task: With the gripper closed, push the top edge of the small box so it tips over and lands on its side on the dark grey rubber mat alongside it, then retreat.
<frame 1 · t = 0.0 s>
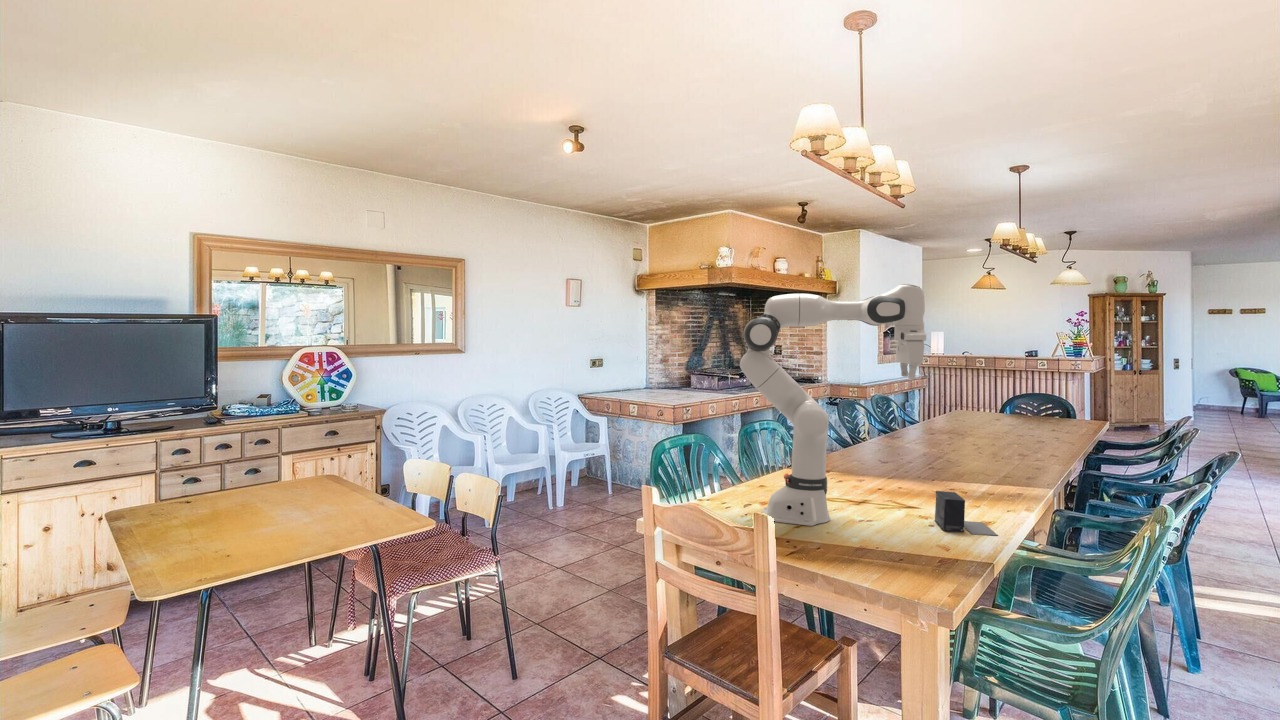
hand: (908, 377, 197), 48 cm above the table, fingers open, 8 cm apart
mat: (977, 528, 194), on the table
small box: (949, 527, 196), on the table
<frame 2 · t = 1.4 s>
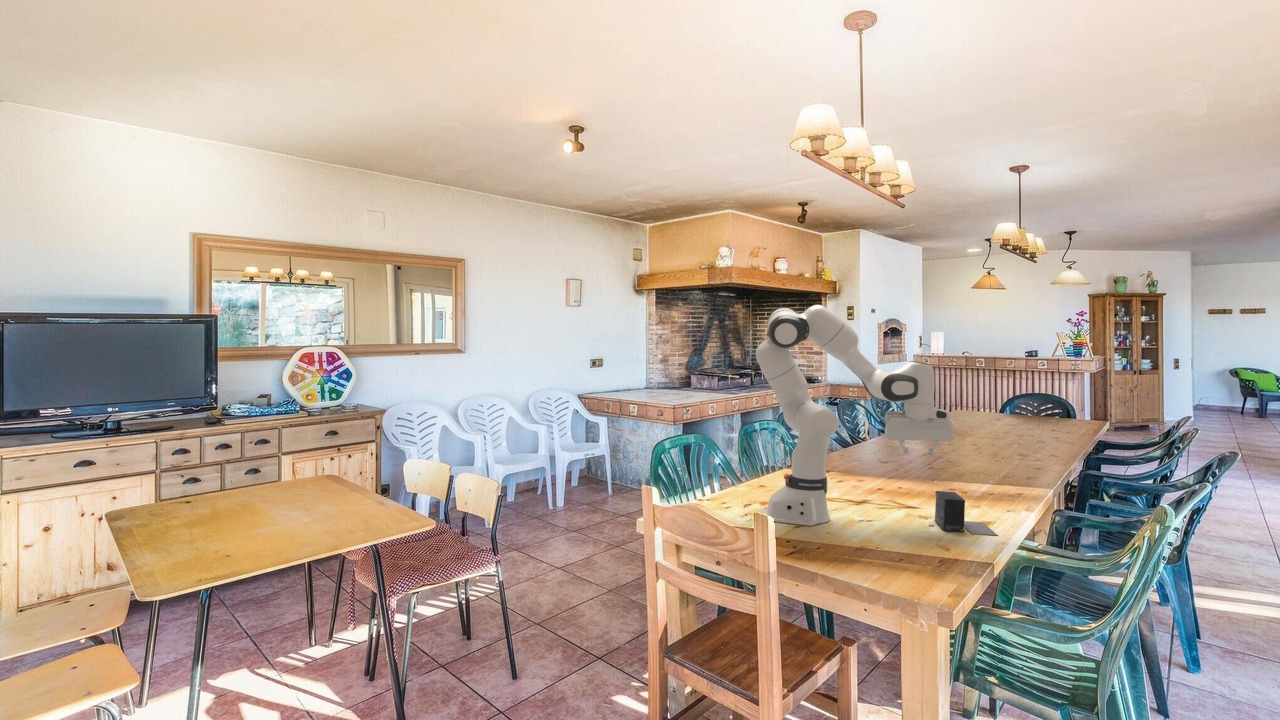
hand: (917, 454, 197), 23 cm above the table, fingers open, 6 cm apart
nothing on the table moved.
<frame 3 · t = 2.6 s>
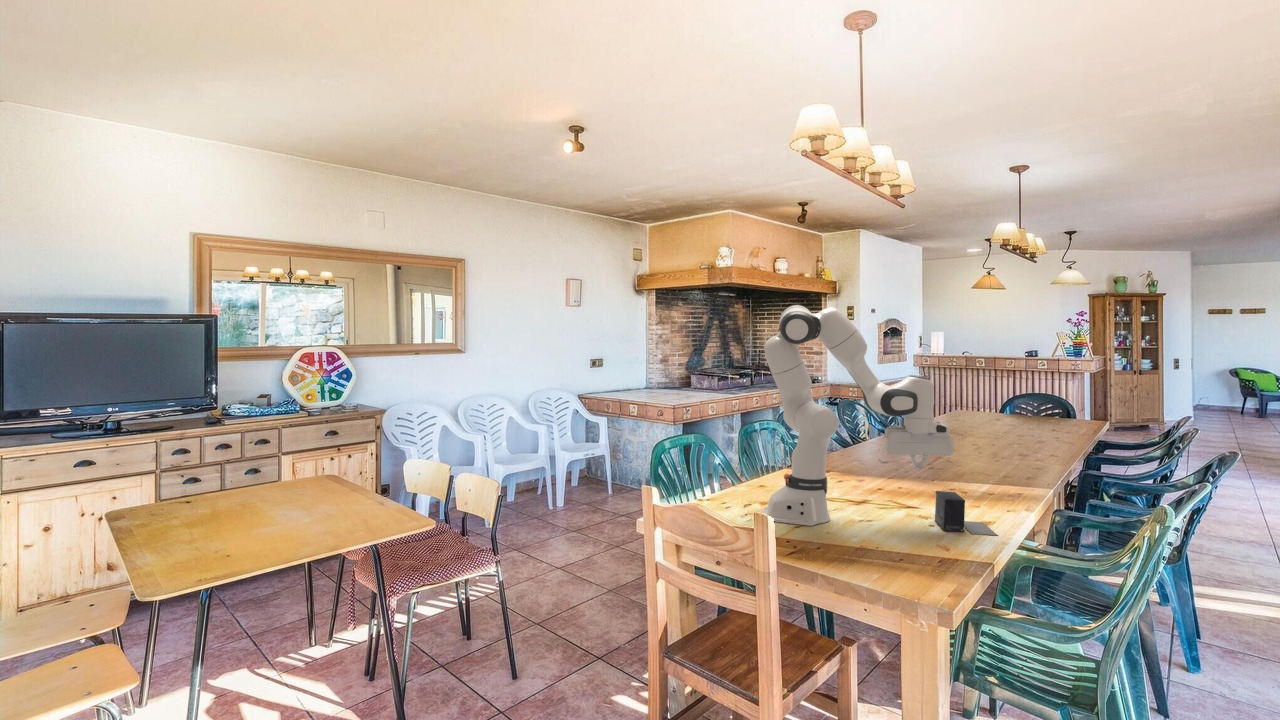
hand: (918, 468, 197), 19 cm above the table, fingers closed
nothing on the table moved.
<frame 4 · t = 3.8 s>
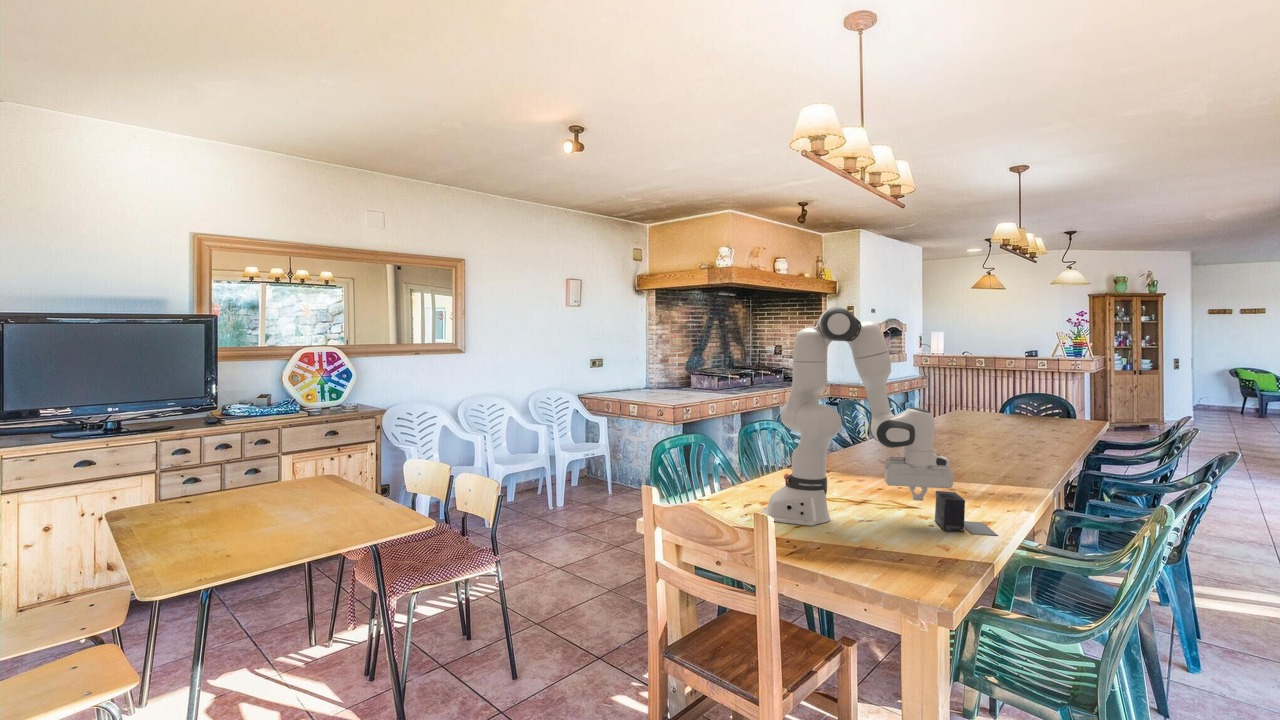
hand: (917, 500, 197), 8 cm above the table, fingers closed
nothing on the table moved.
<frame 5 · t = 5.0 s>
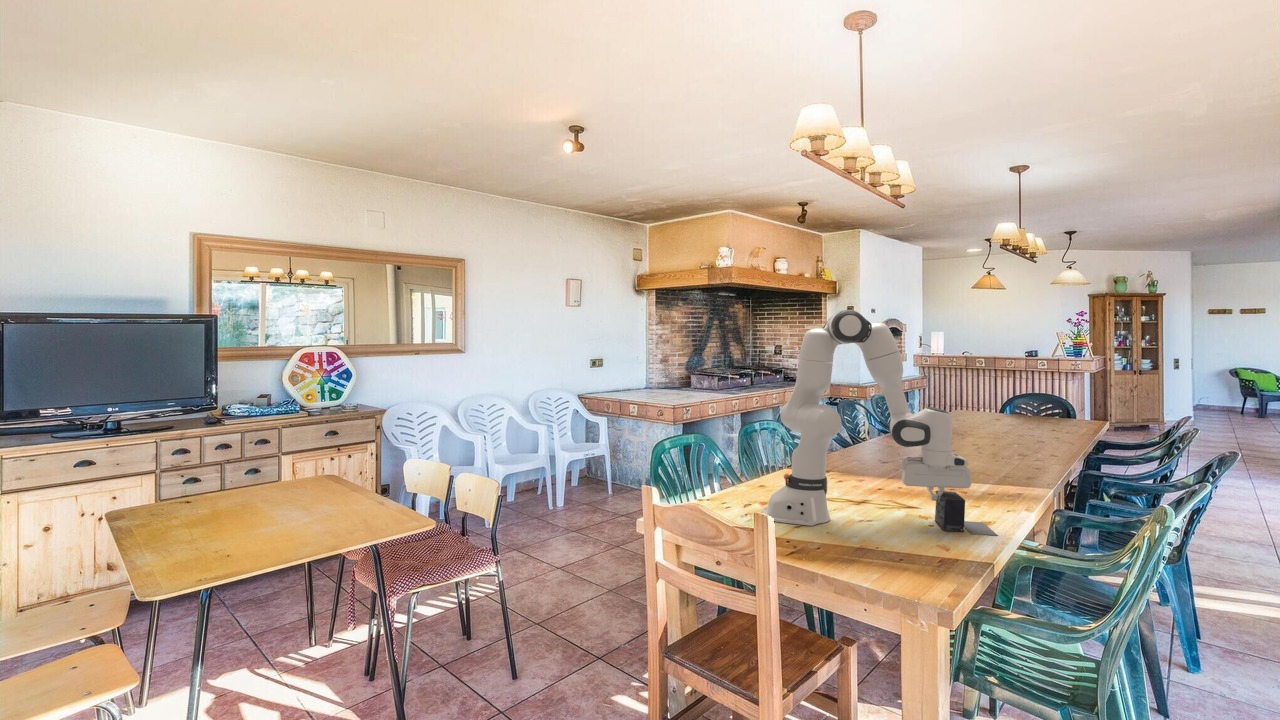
hand: (935, 500, 196), 8 cm above the table, fingers closed, pressing on small box
small box: (949, 527, 196), on the table, touching gripper
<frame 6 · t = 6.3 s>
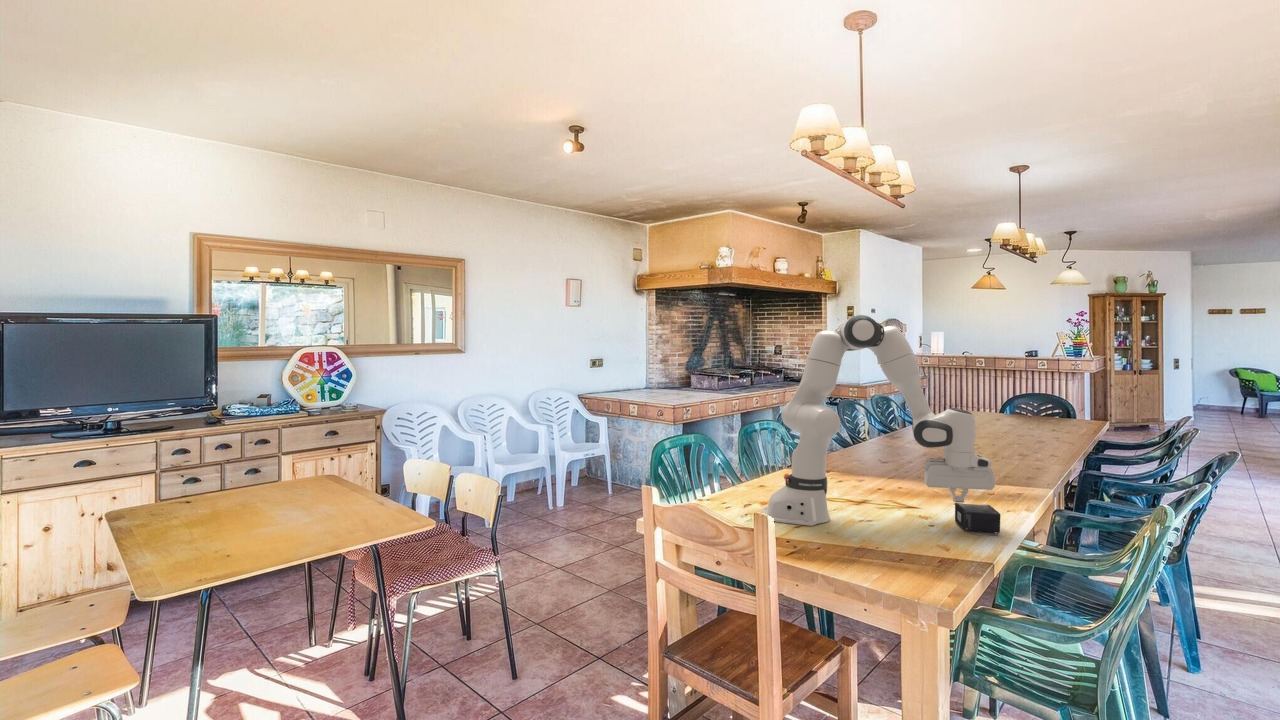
hand: (958, 501, 195), 8 cm above the table, fingers closed
small box: (958, 516, 195), point 3 cm above the table, touching mat
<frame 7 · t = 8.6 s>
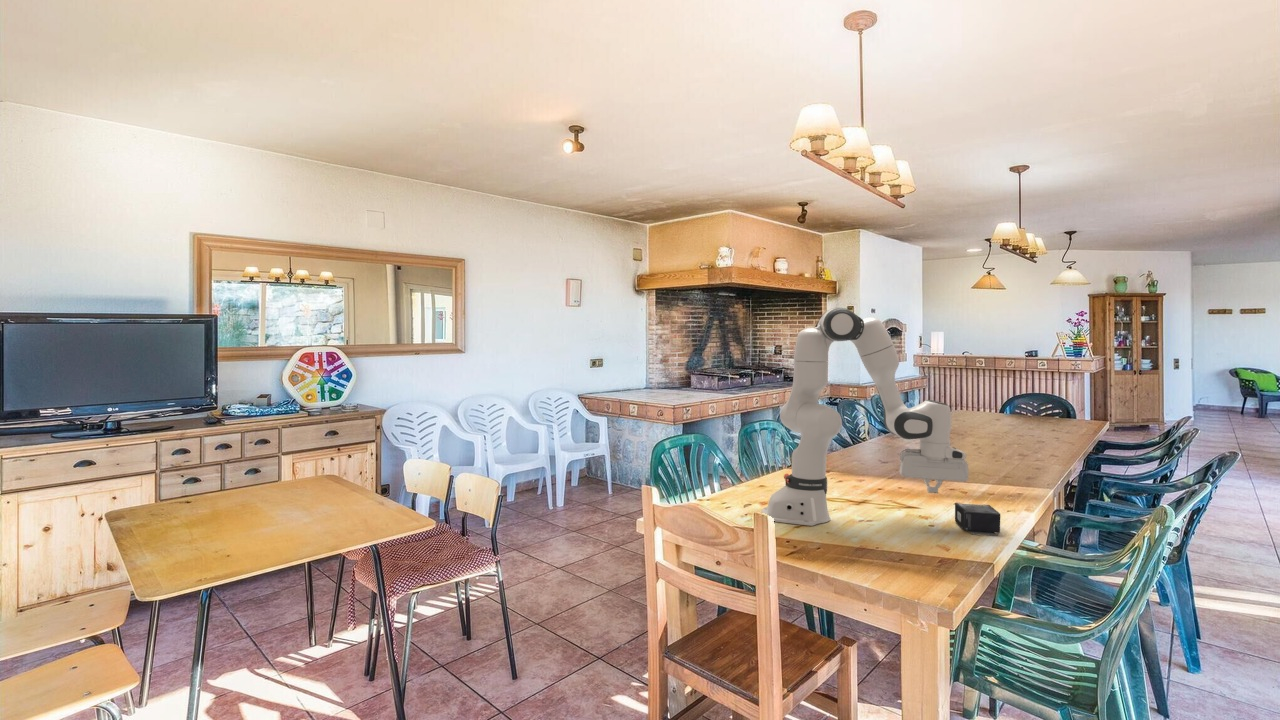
hand: (932, 492, 198), 11 cm above the table, fingers closed
nothing on the table moved.
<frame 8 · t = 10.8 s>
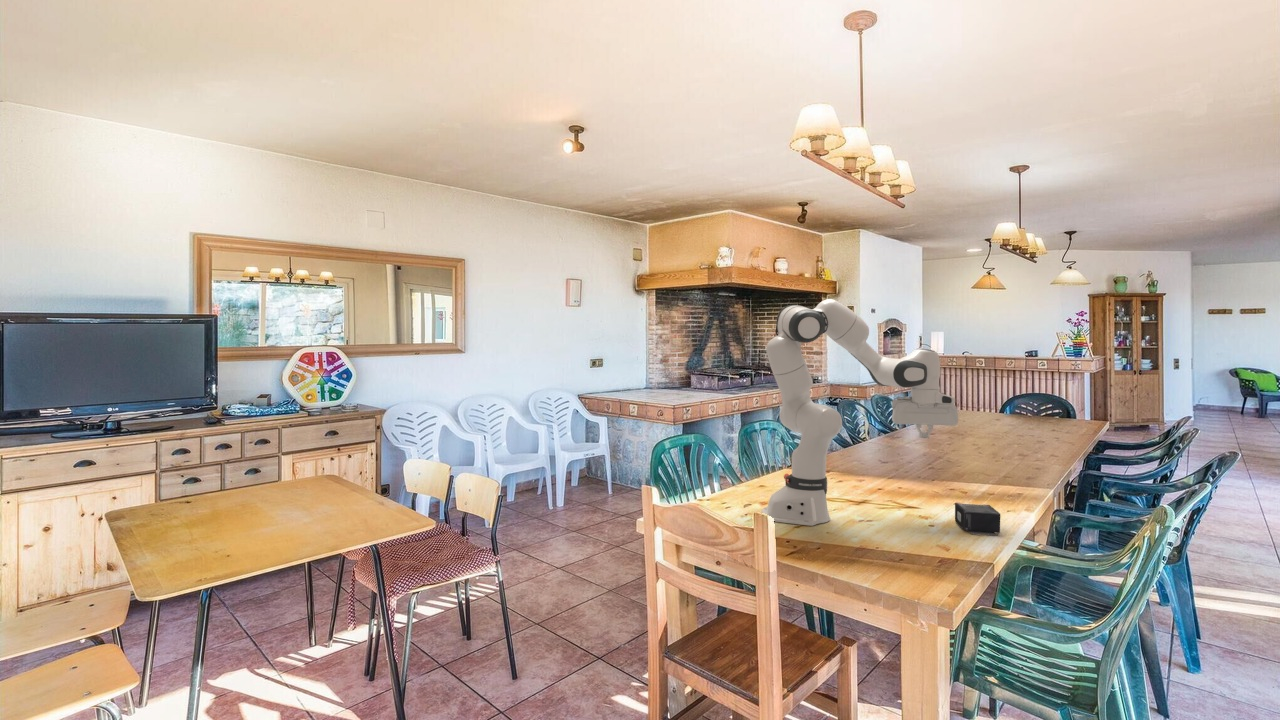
hand: (924, 438, 205), 27 cm above the table, fingers closed
nothing on the table moved.
at the end: small box tilted 89°; small box inside the target area (7.3 cm from its centre), point 3.4 cm above the table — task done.
